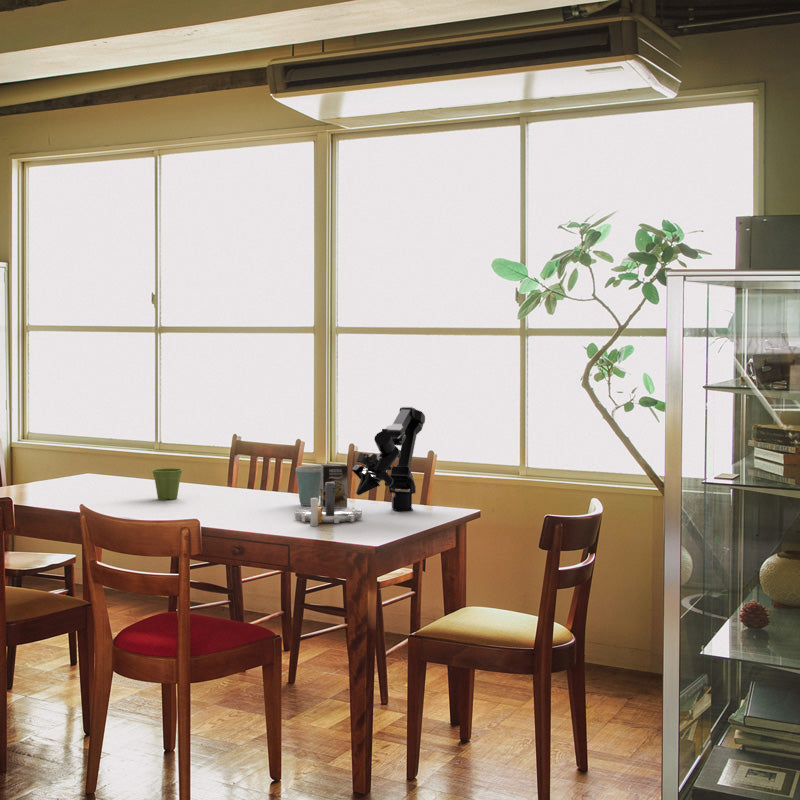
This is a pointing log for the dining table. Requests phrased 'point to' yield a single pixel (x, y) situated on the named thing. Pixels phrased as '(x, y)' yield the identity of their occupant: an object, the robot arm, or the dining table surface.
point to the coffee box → (340, 477)
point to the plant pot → (167, 482)
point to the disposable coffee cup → (308, 483)
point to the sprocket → (330, 510)
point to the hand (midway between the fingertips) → (357, 494)
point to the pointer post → (314, 511)
